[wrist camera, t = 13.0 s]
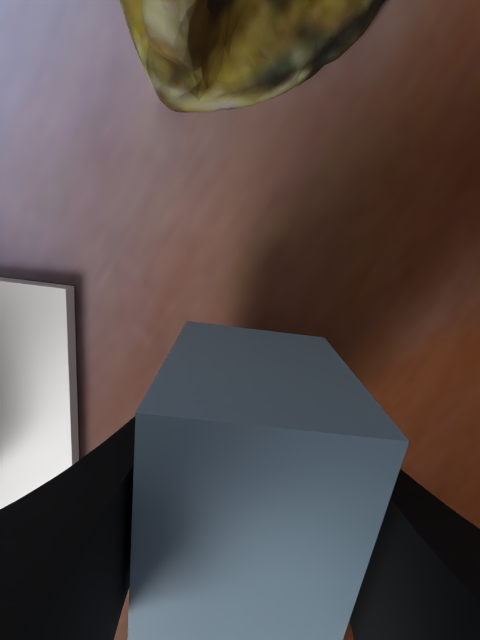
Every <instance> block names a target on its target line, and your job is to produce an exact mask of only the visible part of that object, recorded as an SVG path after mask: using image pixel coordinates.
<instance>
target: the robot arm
mask: <svg viewBox="0 0 480 640" xmlns="http://www.w3.org/2000/svg"><path fill="white" fill-rule="evenodd" d="M134 445H135V417H133V418H132V419H131V420H130V421H129V422H128V423H126V424H125V425H124V426H123V427H122V428H120V429H119V430H118V431H117V432H115V433H114V434H113V435H112V436H111V437H109V438H108V439H107V440H106V441H104V442H103V443H102V444H100V445H99V446H98V447H96V448H95V449H94V450H92V451H91V452H90V453H88V454H87V455H86V456H84V457H83V458H81V459H80V460H79V461H77V462H76V463H75V464H73V465H72V466H70V467H69V468H68V469H66V470H65V471H63V472H62V473H60V474H59V475H57V476H56V477H54V478H53V479H51V480H49V481H48V482H46V483H44V484H43V485H41V486H40V487H38V488H36V489H35V490H33V491H32V492H30V493H28V494H27V495H25V496H23V497H21V498H20V499H18V500H16V501H14V502H13V503H11V504H9V505H7V506H5V507H3V508H2V509H0V640H114V637H115V633H116V629H117V626H118V622H119V618H120V615H121V611H122V608H123V605H124V602H125V598H126V595H127V592H128V589H129V586H130V560H131V531H132V502H133V474H134ZM350 624H351V627H352V632H353V636H354V640H480V529H479V528H477V527H476V526H475V525H473V524H472V523H470V522H469V521H467V520H466V519H465V518H463V517H462V516H460V515H459V514H458V513H456V512H455V511H453V510H452V509H451V508H449V507H448V506H447V505H445V504H444V503H443V502H441V501H440V500H439V499H438V498H436V497H435V496H434V495H432V494H431V493H430V492H429V491H427V490H426V489H425V488H423V487H422V486H421V485H420V484H418V483H417V482H416V481H415V480H413V479H412V478H411V477H410V476H409V475H407V474H406V473H405V472H404V471H402V470H401V469H400V471H399V474H398V477H397V480H396V483H395V486H394V489H393V491H392V494H391V497H390V500H389V503H388V506H387V509H386V512H385V515H384V518H383V521H382V524H381V527H380V530H379V533H378V536H377V539H376V542H375V545H374V548H373V551H372V554H371V557H370V560H369V563H368V566H367V569H366V572H365V575H364V578H363V581H362V584H361V587H360V590H359V593H358V596H357V599H356V602H355V605H354V608H353V611H352V614H351V617H350Z"/></svg>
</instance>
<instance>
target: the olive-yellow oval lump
mask: <svg viewBox="0 0 480 640" xmlns="http://www.w3.org/2000/svg"><path fill="white" fill-rule="evenodd" d="M119 1H120V4H121V7H122V11H123V14H124V17H125V20H126V23H127V26H128V29H129V32H130V35H131V37H132V40H133V43H134V45H135V48H136V50H137V53H138V55H139V58H140V60H141V62H142V65H143V67H144V69H145V71H146V74H147V76H148V78H149V80H150V82H151V84H152V86H153V89H154V90H155V92H156V94H157V96H158V97H159V99H160V100H161V101H162V102H163V103H164V104H165V105H166V106H167V107H169V108H170V109H171V110H173V111H177V112H212V111H218V110H222V109H235V108H241V107H246V106H249V105H253V104H257V103H260V102H263V101H266V100H268V99H271V98H273V97H275V96H278V95H280V94H283V93H285V92H287V91H288V90H290V89H291V88H293V87H295V86H297V85H299V84H301V83H303V82H304V81H306V80H308V79H309V78H311V77H312V76H313V75H315V74H316V73H317V71H318V70H319V69H320V68H322V67H323V66H324V65H326V64H328V63H330V62H332V61H334V60H336V59H337V58H339V57H340V56H341V55H342V54H343V53H344V52H345V51H346V50H347V49H348V48H349V47H350V46H351V45H352V44H353V43H354V42H355V41H356V40H357V39H358V38H359V37H360V36H361V35H362V34H363V33H364V31H365V30H366V28H367V27H368V25H369V24H370V22H371V21H372V19H373V18H374V16H375V14H376V12H377V11H378V9H379V7H380V5H381V4H382V3H383V2H384V1H385V0H119Z"/></svg>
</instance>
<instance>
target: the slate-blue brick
mask: <svg viewBox="0 0 480 640" xmlns="http://www.w3.org/2000/svg"><path fill="white" fill-rule="evenodd" d="M408 444H409V441H408V439H407V438H406V437H405V436H404V434H403V433H402V432H401V431H400V430H399V428H398V427H397V426H396V425H395V423H394V422H393V421H392V420H391V419H390V417H389V416H388V415H387V414H386V412H385V411H384V410H383V409H382V408H381V406H380V405H379V404H378V403H377V401H376V400H375V399H374V398H373V397H372V395H371V394H370V393H369V392H368V390H367V389H366V388H365V387H364V385H363V384H362V383H361V382H360V381H359V379H358V378H357V377H356V376H355V374H354V373H353V372H352V371H351V370H350V368H349V367H348V366H347V365H346V363H345V362H344V361H343V360H342V359H341V357H340V356H339V355H338V354H337V352H336V351H335V350H334V349H333V347H332V346H331V345H330V344H329V343H328V341H327V340H326V339H325V338H324V337H316V336H308V335H299V334H291V333H282V332H274V331H266V330H257V329H249V328H240V327H232V326H224V325H215V324H207V323H198V322H190V321H187V322H186V324H185V326H184V327H183V329H182V331H181V333H180V335H179V336H178V338H177V340H176V342H175V343H174V345H173V347H172V349H171V351H170V352H169V354H168V356H167V358H166V360H165V361H164V363H163V365H162V367H161V368H160V370H159V372H158V374H157V376H156V377H155V379H154V381H153V383H152V385H151V386H150V388H149V390H148V392H147V393H146V395H145V397H144V399H143V401H142V402H141V404H140V406H139V408H138V409H137V411H136V416H135V445H134V474H133V502H132V531H131V560H130V589H129V617H128V640H343V638H344V635H345V632H346V629H347V626H348V623H349V620H350V617H351V614H352V611H353V608H354V605H355V602H356V599H357V596H358V593H359V590H360V587H361V584H362V581H363V578H364V575H365V572H366V569H367V566H368V563H369V560H370V557H371V554H372V551H373V548H374V545H375V542H376V539H377V536H378V533H379V530H380V527H381V524H382V521H383V518H384V515H385V512H386V509H387V506H388V503H389V500H390V497H391V494H392V491H393V489H394V486H395V483H396V480H397V477H398V474H399V471H400V468H401V465H402V462H403V459H404V456H405V453H406V450H407V447H408Z"/></svg>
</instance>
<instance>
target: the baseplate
mask: <svg viewBox="0 0 480 640" xmlns="http://www.w3.org/2000/svg"><path fill="white" fill-rule="evenodd" d="M77 461H79V440H78V405H77V370H76V335H75V300H74V286H70V285H61V284H53V283H45V282H37V281H29V280H20V279H12V278H4V277H0V509H2V508H3V507H5V506H7V505H9V504H11V503H13V502H14V501H16V500H18V499H20V498H21V497H23V496H25V495H27V494H28V493H30V492H32V491H33V490H35V489H36V488H38V487H40V486H41V485H43V484H44V483H46V482H48V481H49V480H51V479H53V478H54V477H56V476H57V475H59V474H60V473H62V472H63V471H65V470H66V469H68V468H69V467H70V466H72V465H73V464H75V463H76V462H77Z"/></svg>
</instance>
